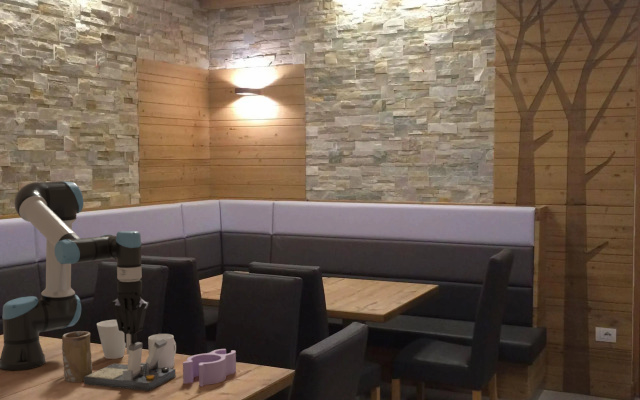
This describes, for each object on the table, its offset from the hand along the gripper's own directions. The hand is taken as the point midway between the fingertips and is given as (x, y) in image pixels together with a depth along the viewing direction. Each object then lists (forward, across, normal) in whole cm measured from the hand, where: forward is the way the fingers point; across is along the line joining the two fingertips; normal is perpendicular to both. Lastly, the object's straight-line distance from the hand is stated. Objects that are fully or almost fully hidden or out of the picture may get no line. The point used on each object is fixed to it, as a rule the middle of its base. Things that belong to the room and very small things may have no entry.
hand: (131, 353), depth 234 cm
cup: (+10, -26, +28) cm, 40 cm away
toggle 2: (+7, +1, +9) cm, 11 cm away
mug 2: (+10, -1, +22) cm, 25 cm away
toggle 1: (+7, +1, 0) cm, 7 cm away
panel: (+10, -3, +4) cm, 12 cm away
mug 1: (+11, -23, +1) cm, 26 cm away
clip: (+11, +20, +16) cm, 28 cm away
